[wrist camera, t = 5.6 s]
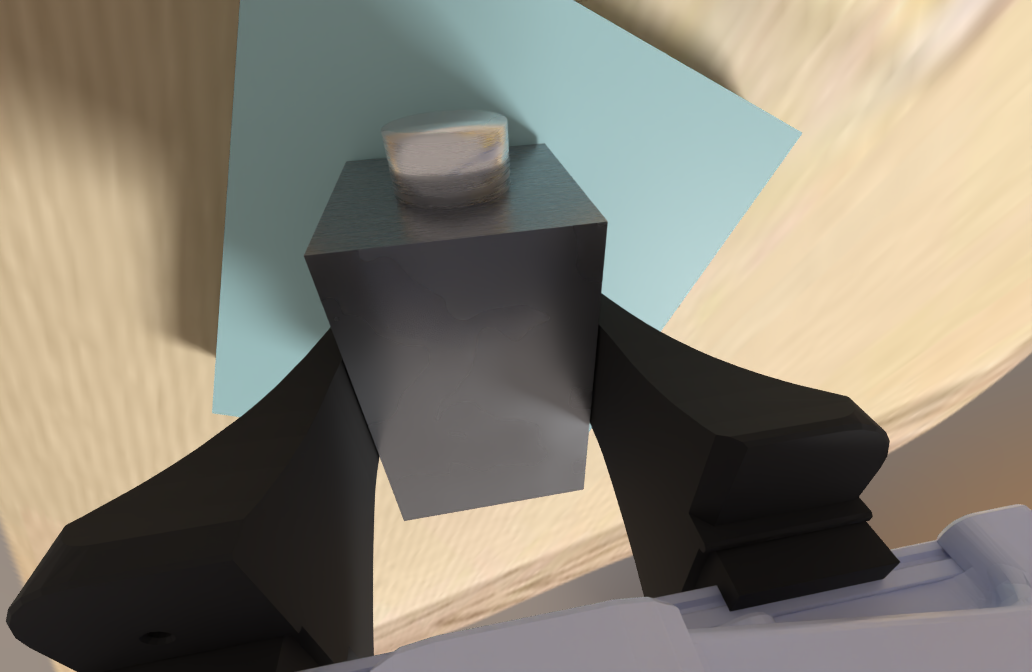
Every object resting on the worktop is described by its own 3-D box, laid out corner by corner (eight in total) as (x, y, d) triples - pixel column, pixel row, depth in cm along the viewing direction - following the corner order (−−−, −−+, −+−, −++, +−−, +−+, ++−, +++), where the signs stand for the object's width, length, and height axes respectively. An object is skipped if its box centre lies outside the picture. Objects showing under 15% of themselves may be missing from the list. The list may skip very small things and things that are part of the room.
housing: (545, 371, 16) (583, 489, 12) (408, 391, 16) (403, 520, 12) (544, 90, 11) (614, 147, 7) (331, 107, 10) (275, 179, 6)
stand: (751, 115, 15) (802, 132, 13) (553, 422, 22) (566, 462, 20) (287, -147, 10) (252, -186, 8) (236, 365, 17) (212, 412, 15)
